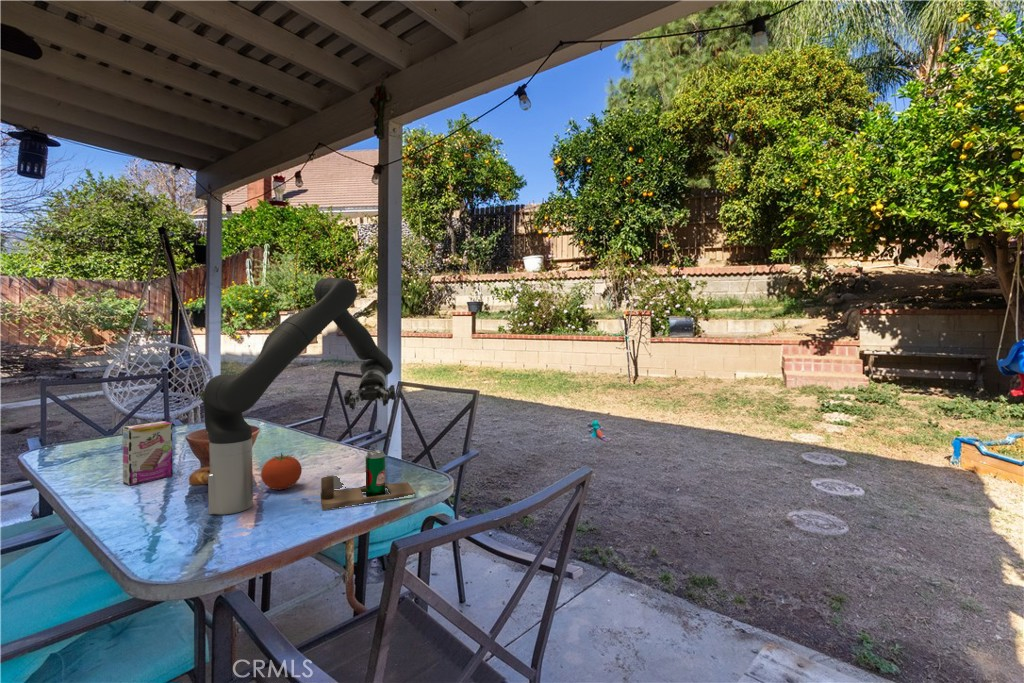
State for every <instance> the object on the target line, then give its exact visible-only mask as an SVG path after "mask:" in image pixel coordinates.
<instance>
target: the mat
mask: <svg viewBox="0 0 1024 683" xmlns="http://www.w3.org/2000/svg"><path fill="white" fill-rule="evenodd" d="M334 475H335V474H333V475H326V477H334V489H340V488H342V487H343V486H342V485H344V484H343V483H341V482H340V478H338V477H337V476H334ZM345 488H346V487H345Z"/></svg>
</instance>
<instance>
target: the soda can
mask: <svg viewBox="0 0 1024 683" xmlns="http://www.w3.org/2000/svg"><path fill="white" fill-rule="evenodd" d="M365 472H366V494H365V497H371V496H379V495H386V492H387V491H385V484H386V455H385V451H384V450H379V449H377V450H370V451H367V453H366V456H365Z"/></svg>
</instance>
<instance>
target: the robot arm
mask: <svg viewBox="0 0 1024 683" xmlns="http://www.w3.org/2000/svg"><path fill="white" fill-rule="evenodd" d="M357 290H358V289H357V285H356V284H355V283H354V282H353V281H352V280H350V279H348V278H343V277H324V278H320V279H319V280H318V281H317V282H316V283H315V285H314V288H313V296H314V298H315V300H316V303H314V304H312V305H311V306H309V307H307V308H305V309H302V310H300V311H298V312H296V313H294V314H292V315H290V316H289V317H287V318H286V319H284V320H283V321H281V323H279V325H277V327H275V328H274V329H273V330H272V331H271V332H270V333H269V334H268V335H267V337H266V339H265V340H264V343H263V344H262V347H261V351H260V353H259V354H258V355H257V357H256V359H255V360H254V361H253V362H252V363H250V365H249V366H247V367H245V369H244V370H243V371H241V372H240V373H238V374H237V375H236V374H218V375H215V376H214V377H212V378H211V379H210V380H209V381H208V382H207V383H206V385H205V387H204V390H203V414H204V427H205V430H206V432H207V434H208V438H209V439H208V440H209V442H208V443H209V445H208V446H209V449H208V450H209V453H208V454H209V467H210V474H209V475H208V487H207V488H208V489H207V490H208V515H231V514H232V515H233V514H237V513H241V512H243V511H246V510H248V509H251V508H252V507H253V505H254V490H253V489H254V483H253V482H254V481H253V474H254V473H253V472H254V471H253V431H252V426H251V424H248V422H247V421H246V420H245V418H244V416H243V413H245V412H246V411H248V410H250V409H252V407H254V405H255V404H256V403H257V402H259V399H261V397H262V396H263V395H264V393H265V392H266V391H267V389H268V388H269V387H270V386H271V384H272V383H273V382H274V380H275V379H276V378H277V377H279V375H280V374H282V372H283V371H284V370H285V369H286V368H287V367H288V366H289V365H290V364H291V363H292V362H293V361H294V360H295V359H296V358H297V357H298V356H299V355H301V354H302V353H303V351H304V350H305V349H306V348H307V347H308V346H309V345H310V344H311V343H312V342H313V341H314V340H315V338H317V337H318V336H319V335H320V334H321V333H322V332H323V331H324V330H325V329H326V328H327V327H328V326H329V325H330V324H331V323H332V322H333V323H334V324H335V325H336V326H337V327H338V329H339V330H340V331H341V332H342V333H343V335H344V337H345V338H346V340H347V341H348V343H349V344H350V347H352V350H353V352H354V353H355V354H356V357H357V358H358V359H360V360H362V361H364V362H362V363H361V364H360V368H359V369H360V373H361V376H362V377H361V380H360V382H359V386H358V389H357V390H356V391H352V389H347V390H346V392H345V394H344V396H343V400H344V401H343V402H344V406H349V409H351V410H356V406H357V404H360V405H361V404H363V403H364V402H367V401H369V402H374V401H375V402H376V401H379V402H382V406H383V407H385V406H387V405H388V404H389V401H390V400H391V401H394V400H396V391H395V385H394V384H390V386H389V387H387V388H386V385H387V382H386V378H387V376H388V375H390V374H391V373H392V372H393V369H394V366H393V362H392V360H391V359H390V357H388V355H386V354H385V353H384V352H383V351H382V350H381V349H380V348H379V347H378V346H377V344H376V343H375V340H374V339H373V336H372V335H371V333H370V332H369V330H368V329H367V328H366V326H364V325H363V324H362V323H361V322H359V321H358V320H357V318H355V317H354V316H353V315H352V314H351V313H350V312H349V310H348V309H349V308H350V307H352V305H353V304H354V302H355V301H356V298H357V295H358V291H357Z"/></svg>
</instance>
